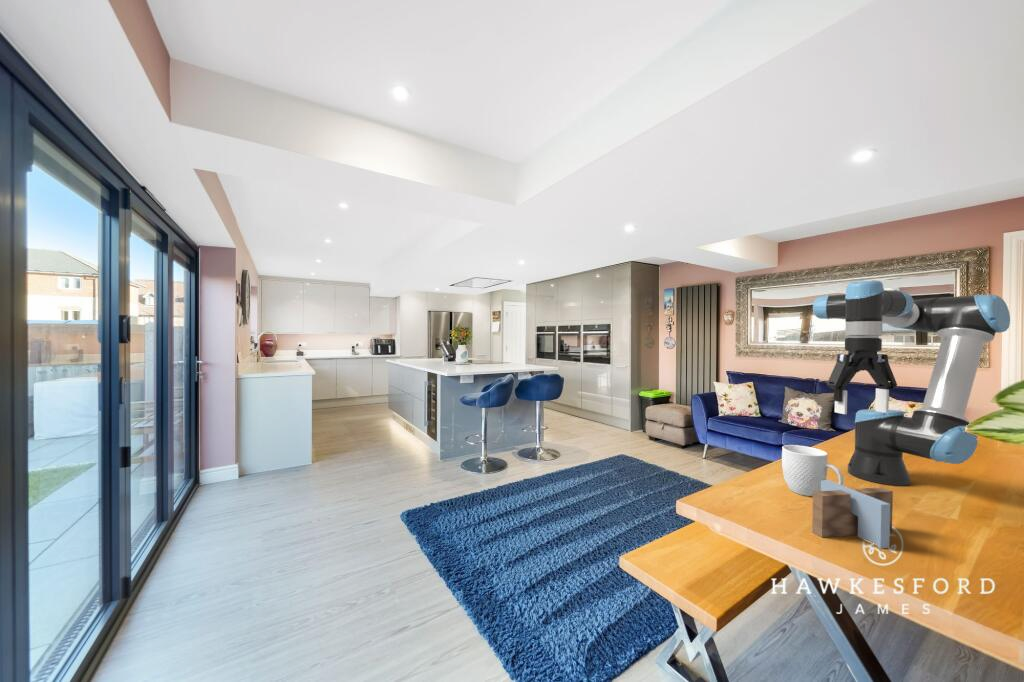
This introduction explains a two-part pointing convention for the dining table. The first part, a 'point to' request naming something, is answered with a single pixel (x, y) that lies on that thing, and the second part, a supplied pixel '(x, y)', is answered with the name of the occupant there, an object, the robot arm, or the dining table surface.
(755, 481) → the dining table surface
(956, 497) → the dining table surface
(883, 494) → the walnut slot plate
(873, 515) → the pale blue flat slat
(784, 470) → the mug
